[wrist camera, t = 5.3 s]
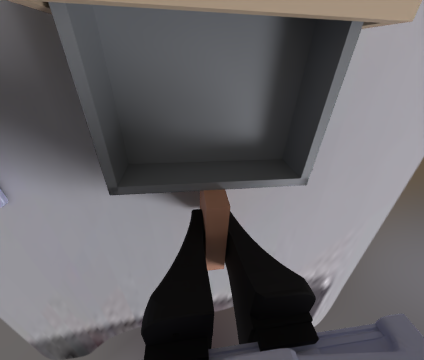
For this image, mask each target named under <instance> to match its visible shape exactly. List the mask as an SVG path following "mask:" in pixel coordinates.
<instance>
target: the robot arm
mask: <svg viewBox="0 0 424 360" xmlns="http://www.w3.org/2000/svg"><path fill="white" fill-rule="evenodd" d="M7 203H8V199H7V198H6V196H5V195H4V193H3V192H2V190H1V189H0V207H3V206H4V205H6V204H7ZM225 264H226V267H227V271H228V275H229V280H230V286H231V292H232V298H233V304H234V311H235V317H236V324H237V331H238V339H239V345H234V346H228V347H221V348H214V349H211V344H212V335H213V321H214V307H213V299H212V294H211V289H210V283H209V277H208V271H207V264H206V257H205V250H204V242H203V213H202V209H197V210H192V215H191V221H190V225H189V228H188V231H187V234H186V237H185V239H184V242H183V244H182V247H181V249H180V251H179V253H178V255H177V257H176V259H175V261H174V262H173V264H172V266H171V268H170V269H169V271H168V272H167V274H166V275H165V277H164V278H163V280H162V281H161V283H160V284H159V286H158V287H157V288H156V289H155V291H154V292H153V293H152V295H151V297H150V299H149V301H148V304H147V307H146V310H145V313H144V317H143V321H142V328H141V335H142V337H143V339H144V342H145V344H146V347H145V355H144V360H424V337H423V335H422V334H421V333H420V332H419V331H418V329H417V328H416V327H415V326H414V325H413V324H412V323H411V321H410V320H409V319H408V318H407V317H406V315H405V314H402V313H401V314H394V315H388V316H384V317H381V318H380V319H378V320H377V321H376V323H375V324H369V325H363V326H357V327H350V328H344V329H337V330H330V331H325V332H318V333H316V331H315V329H314V327H313V325H312V323H311V322H312V321H313V320H312V317H311V315H310V313H309V311H310V310H311V308H312V306H313V305H314V303H315V300H316V298H315V295H314V293H313V291H312V290H311V288H310V286H309V285H308V283H307V282H306V281H305V279H304V278H303V277H301V276H300V275H298V274H296V273H295V272H293V271H291V270H290V269H288V268H287V267H285V266H284V265H282V264H281V263H279V262H278V261H277V260H276V259H274V258H273V257H272V256H271V255H269V254H268V253H267V252H266V251H265V250H263V249H262V248H261V247H260V246H259V245H258V244H257V243H256V242H255V241H254V240H253V239H252V238H251V237H250V236H249V235H248V234H247V232H246V231H245V230H244V229H243V228H242V226H241V225H240V224H239V223H238V221H237V220H236V219H235V217H234V216H233V214H232V213H231V211H230V215H229V225H228V234H227V244H226V254H225Z"/></svg>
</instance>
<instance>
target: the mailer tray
mask: <svg viewBox="0 0 424 360" xmlns="http://www.w3.org/2000/svg"><path fill="white" fill-rule="evenodd" d="M48 3H49V6H50V9H51V12H52V15H53V18H54V22H55V25H56V28H57V31H58V34H59V37H60V40H61V44H62V47H63V50H64V53H65V56H66V59H67V62H68V66H69V69H70V72H71V75H72V78H73V81H74V84H75V88H76V91H77V94H78V97H79V100H80V103H81V106H82V110H83V113H84V116H85V119H86V122H87V125H88V128H89V131H90V135H91V138H92V141H93V144H94V147H95V150H96V153H97V157H98V160H99V163H100V166H101V169H102V172H103V175H104V179H105V182H106V185H107V188H108V191H109V194H110V195H125V194H145V193H164V192H184V191H200V209H202V213H203V242H204V250H205V257H206V264H207V270H216V269H224V263H225V254H226V244H227V234H228V225H229V215H230V204H229V201H228V198H227V194H226V191H225V189H242V188H261V187H280V186H300V185H307V182H308V179H309V177H310V174H311V171H312V168H313V165H314V162H315V160H316V157H317V154H318V151H319V148H320V145H321V142H322V140H323V137H324V134H325V131H326V128H327V125H328V123H329V120H330V117H331V114H332V111H333V108H334V105H335V103H336V100H337V97H338V94H339V91H340V88H341V86H342V83H343V80H344V77H345V74H346V71H347V69H348V66H349V63H350V60H351V57H352V54H353V51H354V49H355V46H356V43H357V40H358V37H359V34H360V32H361V29H362V26H363V23H364V22H361V21H345V20H329V19H313V18H297V17H281V16H265V15H249V14H233V13H217V12H201V11H186V10H170V9H154V8H138V7H122V6H106V5H90V4H74V3H58V2H48Z"/></svg>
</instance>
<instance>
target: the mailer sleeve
mask: <svg viewBox="0 0 424 360" xmlns="http://www.w3.org/2000/svg"><path fill="white" fill-rule="evenodd" d="M8 1H11V2H14V3H17V4H21V5H24V6H27V7H30V8H33V9H36V10H40V11H43V12H46V13H49V14H52V12H51V9H50V6H49V3H48V2H58V3H74V4H90V5H106V6H122V7H138V8H154V9H170V10H186V11H201V12H217V13H233V14H249V15H265V16H281V17H297V18H313V19H329V20H345V21H361V22H364V23H363V26H362V29H364V28H371V27H378V26H385V25H391V24H398V23H405V22H412V21H413V19H414V17H415V15H416V13H417V10H418V8H419V6H420V4H421V2H422V0H8Z"/></svg>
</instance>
